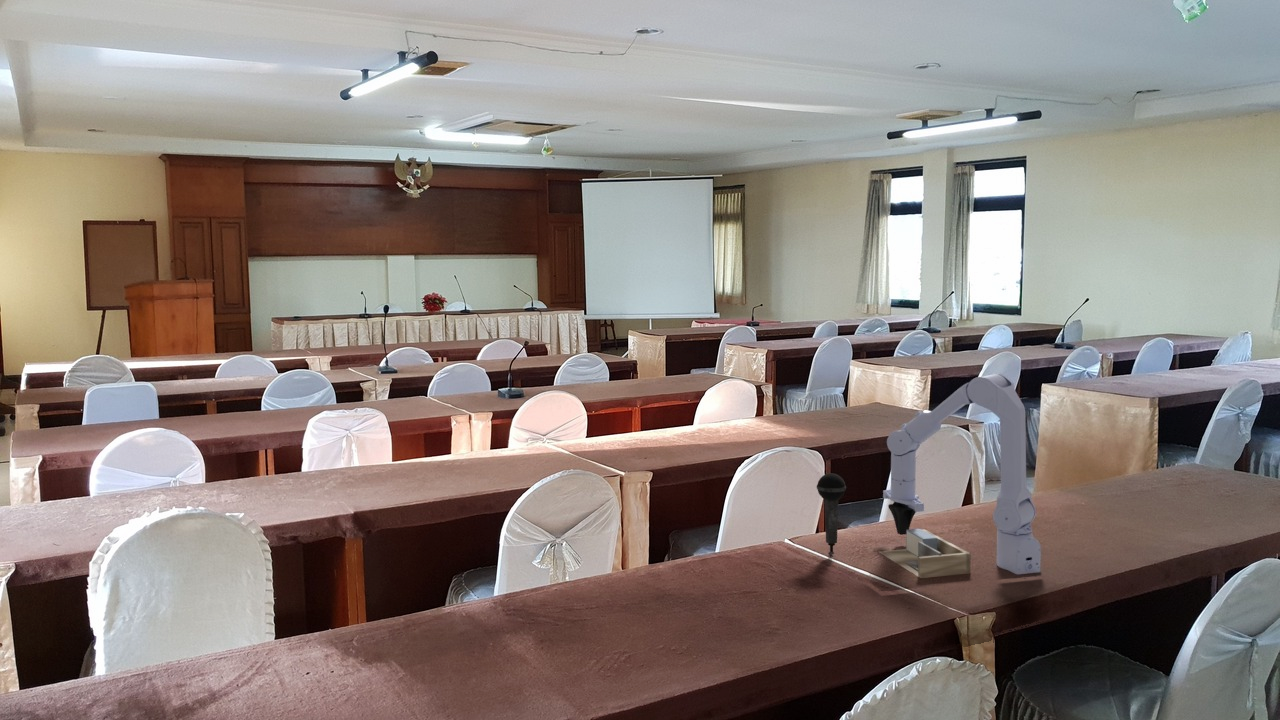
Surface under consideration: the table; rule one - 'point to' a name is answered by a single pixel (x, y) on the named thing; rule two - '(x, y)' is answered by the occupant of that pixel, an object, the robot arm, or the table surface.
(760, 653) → the table surface
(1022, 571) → the robot arm
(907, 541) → the grey-blue block
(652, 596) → the table surface
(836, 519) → the microphone
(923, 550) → the wooden open box
